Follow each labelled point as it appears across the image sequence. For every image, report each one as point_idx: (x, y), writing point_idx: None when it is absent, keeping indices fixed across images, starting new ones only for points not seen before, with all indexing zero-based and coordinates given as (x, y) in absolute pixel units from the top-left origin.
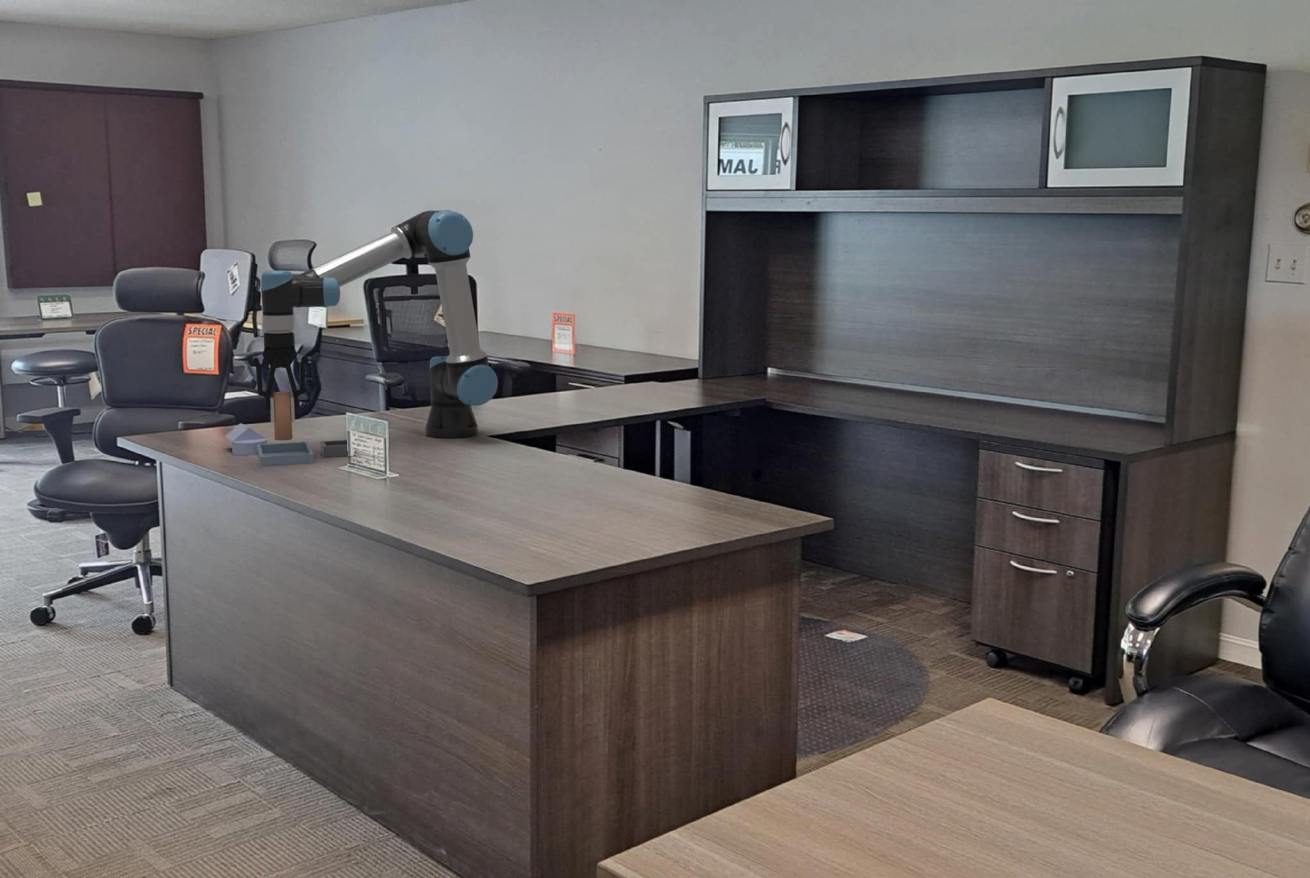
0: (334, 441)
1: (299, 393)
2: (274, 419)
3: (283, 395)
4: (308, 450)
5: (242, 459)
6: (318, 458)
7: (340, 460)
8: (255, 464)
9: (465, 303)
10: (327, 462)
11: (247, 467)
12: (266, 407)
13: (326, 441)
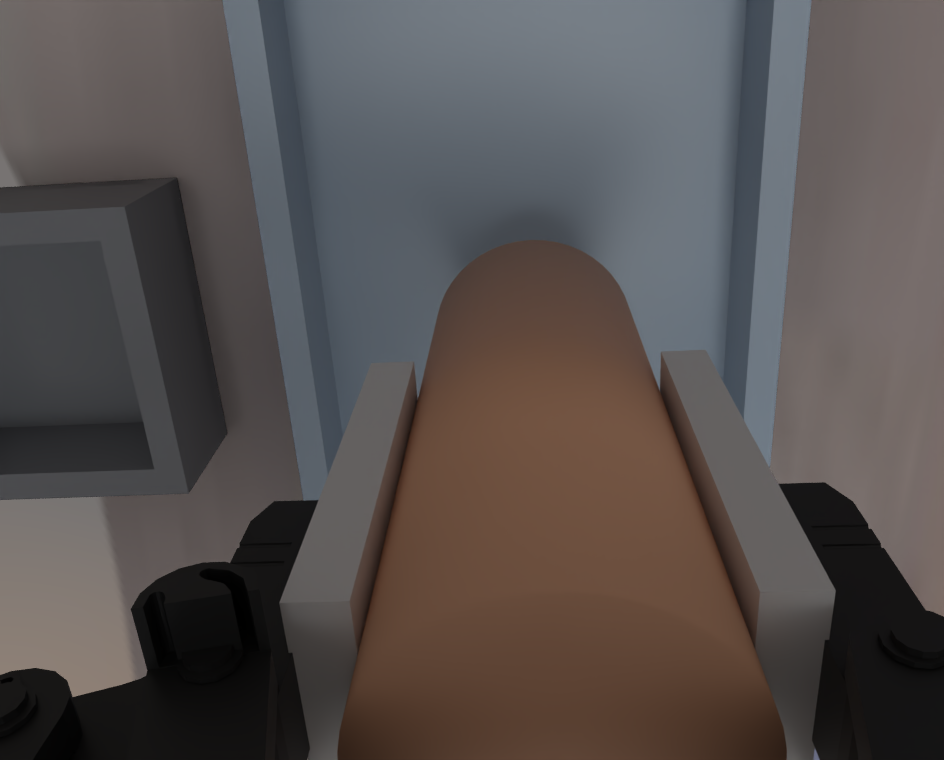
0: (59, 469)
1: (121, 710)
2: (670, 374)
3: (519, 566)
4: (288, 195)
5: (873, 411)
6: (236, 279)
7: (23, 126)
8: (800, 150)
9: None
10: (133, 57)
11: (897, 11)
12: (848, 509)
13: (130, 469)
